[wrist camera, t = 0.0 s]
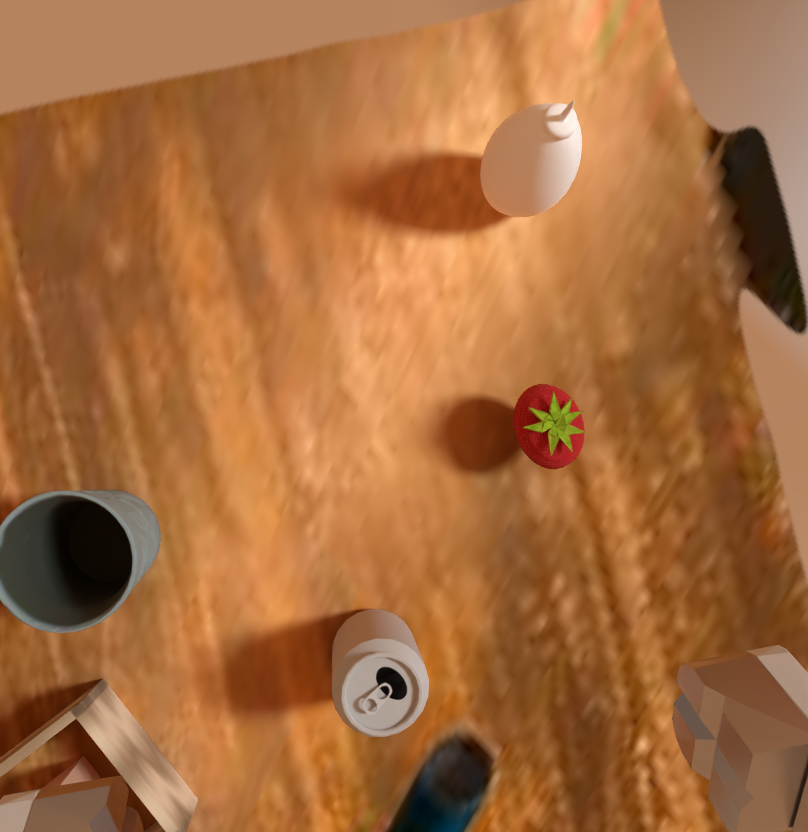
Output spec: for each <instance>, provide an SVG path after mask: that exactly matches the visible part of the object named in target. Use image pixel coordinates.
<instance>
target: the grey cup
mask: <svg viewBox="0 0 808 832" xmlns="http://www.w3.org/2000/svg"><path fill="white" fill-rule="evenodd" d="M160 540H161V538H160V528H159V524H158V521H157V519H156V516H155V514H154V513H153V511H152V510H151V509H150V507H149V506H148V505H147V504H146V503H145V502H144V501H143V500H141V499H140V498H138V497H136V496H134V495H132V494H130V493H128V492H124V491H119V490H97V491H96V490H89V491H53V492H47V493H43V494H40V495H37V496H35V497H32V498H30V499H28V500H26V501H25V502H23V503H21V504H20V505H19V506H18V507H16V508H15V509H14V510H13V511H11V512H10V514H9V515H8V516H7V517H6V518H5V519H4V520H3V522H2V523H1V525H0V601H1V602H2V604H3V605H4V606H5V607H6V608H7V609H8V610H9V611H10V612H11V614H13V615H14V616H15V617H16V618H17V619H18V620H20V621H21V622H23V623H25V624H26V625H28V626H31V627H33V628H36V629H38V630H43V631H47V632H54V633H67V632H75V631H79V630H83V629H86V628H89V627H92V626H94V625H96V624H98V623H100V622H102V621H103V620H105V619H106V618H108V617H109V616H110V615H112V614H113V613H114V612H115V611H116V610H117V609H118V608H119V607H120V606H121V604H122V603H123V602H124V601H125V599H126V598H127V596H128V595H129V593H130V592H131V590H132V589H133V588H134V587H135V585H136V584H137V583H138V582H139V580H140V579H141V578H142V576H143V575H144V574H145V573H146V572H147V570H148V569H149V568H150V567H151V565H152V564H153V562H154V561H155V559H156V556H157V554H158V551H159V547H160Z"/></svg>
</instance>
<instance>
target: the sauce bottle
mask: <svg viewBox="0 0 808 832" xmlns="http://www.w3.org/2000/svg"><path fill="white" fill-rule="evenodd" d="M574 103H575V102H574V101H572V102H571V103H570V104H569V105H566V104H563V103H556V104H553V103H543V104H537V105H532V106H529V107H527V108H524V109H522V110H519V111H518V112H516V113H514V114H513V115H511V116H510V117H508V118H507V119H506V120H505V121H504V122H503V123H502V124H501V125H500V126H499V127H498V128H497V129H496V131H495V132H494V133H493V135H492V136H491V138H490V140H489V142H488V144H487V146H486V148H485V151H484V154H483V157H482V162H481V169H480V180H481V186H482V191H483V193H484V196H485V198H486V200H487V201H488V203H489V204H490V205H491V206H492V207H493V208H494V209H495V210H497V211H498V212H500V213H502V214H505V215H508V216H513V217H529V216H534V215H537V214H540V213H542V212H545V211H546V210H548V209H549V208H551V207H552V206H554V205H555V204H556V203H558V201H559V200H560V199H561V198H562V197H563V196H564V195H565V194H566V192H567V191H568V189H569V188H570V186H571V184H572V182H573V180H574V178H575V176H576V173H577V170H578V167H579V163H580V159H581V151H582V135H581V129H580V125H579V122H578V120H577V116H576V113H575V111H574V109H573V106H574Z"/></svg>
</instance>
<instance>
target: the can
mask: <svg viewBox="0 0 808 832" xmlns="http://www.w3.org/2000/svg"><path fill="white" fill-rule="evenodd" d="M428 690H429V679H428V675H427V671H426V667H425V665H424V662H423V660H422V657H421V655H420V652H419V650H418V647H417V645H416V642H415V640H414V637H413V635H412V633H411V631H410V630H409V628H408V626H407V625H406V623H405V622H404V621H403V620H401V619H400V618H399V617H398V616H397V615H395V614H393V613H390V612H388V611H385V610H379V609H369V610H365V611H361V612H358V613H356V614H355V615H353V616H351V617H350V618H348V619H347V620H346V621H345V622H344V623H343V625H342V626H341V627H340V628H339V629H338V631H337V634H336V636H335V639H334V641H333V648H332V697H333V701H334V705H335V709H336V710H337V712H338V714H339V715H340V717H341V718H342V720H343V721H344V722H345V723H346V724H347V725H348V726H350V727H351V728H352V729H353V730H355V731H356V732H359V733H362V734H364V735H367V736H370V737H386V736H390V735H393V734H396V733H400V732H401V731H403V730H404V729H406V728H407V727H409V726H410V725H412V724H413V723H414V721H415V720H416V719H417V718H418V716H419V715H420V714H421V713H422V711H423V709H424V706H425V704H426V701H427V698H428Z"/></svg>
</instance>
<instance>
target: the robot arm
mask: <svg viewBox="0 0 808 832" xmlns="http://www.w3.org/2000/svg"><path fill="white" fill-rule="evenodd" d="M677 684H678V685H679V687H680V688H681V690H682V691H683V693H682V694H681V695H680V696H679V698H678V699H677V700H676V701H675V702H674V705H673V717H672V720H673V725H674V730H675V734H676V738H677V741H678V743H679V746H680V748H681V751H682V753H683V755H684V756H685V758H686V760H687V762H688V763H689V765H690V767H691V769H693V770H694V771H696V772H698V773H699V774H701V775H702V776H704V777H705V778H707V779H708V780H710V782H709V791H708V798H709V799H710V801H711V803H712V804H713V806H714V808H715V809H716V811H717V813H718V814H719V816H720V818H721V819H722V821H723V823H724V824H725V826H726V828H727V829H728V831H729V832H782V831H788V830H792V832H808V673H807V672H806V671H805V670H804V668H803V667H802V666H801V665H800V664H799V663H798V662H797V661H796V659H795V658H794V657H793V656H792V655H791V654H790V653H789V652H788V650H786V649H785V648H783V647H781V646H779V645H776V646H770V647H765V648H760V649H755V650H750V651H746V652H742V651H741V652H736V653H732V654H727V655H722V656H717V657H713V658H708V659H703V660H699V661H694V662H689V663H684V664H683V665H682V666H681V667H680V668H679V670H678V676H677ZM128 794H129V789H128V787H127V785H126V782H125V780H124V778H123V776H122V775H120V776H113V777H107V778H101V779H96V780H90V781H84V782H78V783H72V784H66V785H60V786H54V787H48V788H42V789H37V790H31V791H26V792H21V793H15V794H10V795H4V796H3V797H2V798H1V800H0V832H144V830H143V824H142V821H141V818H140V815H139V813H138V811H137V810H135V809H133V808H131V807H129V806H127V799H128Z"/></svg>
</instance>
